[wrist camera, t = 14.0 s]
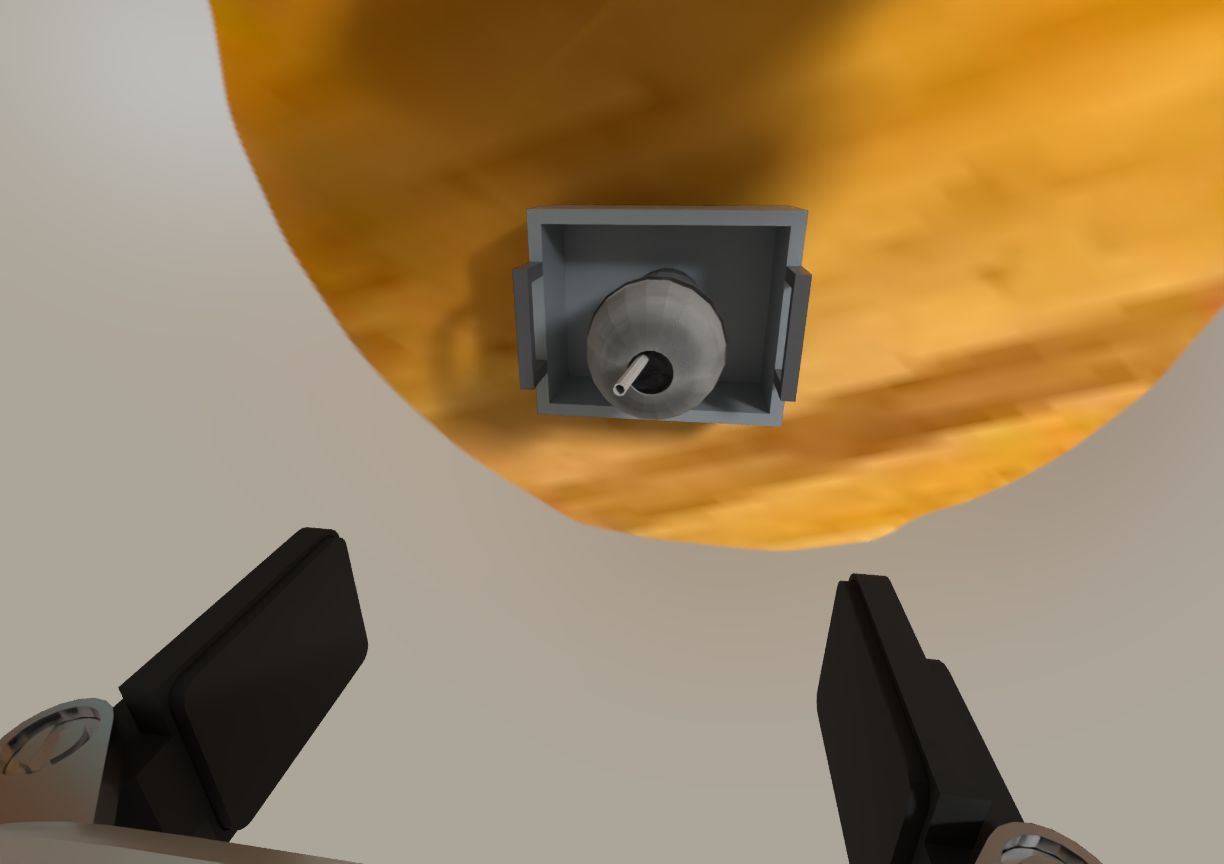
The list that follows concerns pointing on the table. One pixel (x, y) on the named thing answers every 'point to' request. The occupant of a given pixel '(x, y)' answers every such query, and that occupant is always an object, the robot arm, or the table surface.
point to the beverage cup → (656, 345)
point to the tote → (646, 241)
